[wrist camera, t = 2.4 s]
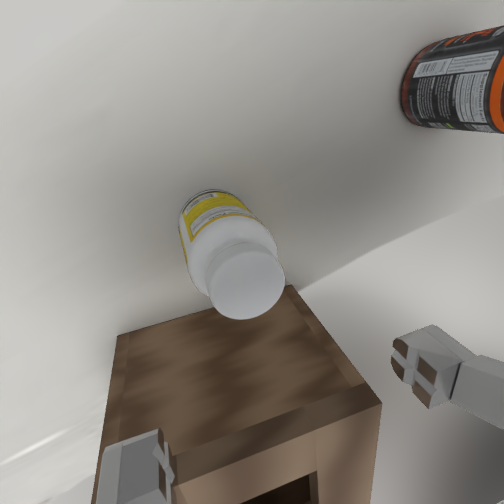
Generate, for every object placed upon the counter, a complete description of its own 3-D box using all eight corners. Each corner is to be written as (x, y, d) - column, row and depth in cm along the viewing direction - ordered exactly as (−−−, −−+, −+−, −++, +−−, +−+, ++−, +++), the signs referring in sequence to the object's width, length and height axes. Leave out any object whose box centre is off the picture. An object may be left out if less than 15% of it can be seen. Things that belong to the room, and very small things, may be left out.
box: (291, 284, 28) (382, 402, 17) (300, 392, 36) (367, 523, 25) (117, 336, 25) (88, 521, 14) (168, 442, 33) (175, 616, 21)
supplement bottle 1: (233, 259, 25) (273, 336, 17) (169, 244, 23) (179, 325, 15) (256, 199, 23) (314, 252, 15) (190, 178, 21) (213, 226, 13)
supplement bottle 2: (467, 35, 23) (704, -18, 13) (453, 119, 25) (638, 128, 16) (400, 46, 21) (604, -3, 12) (393, 132, 24) (553, 151, 15)
